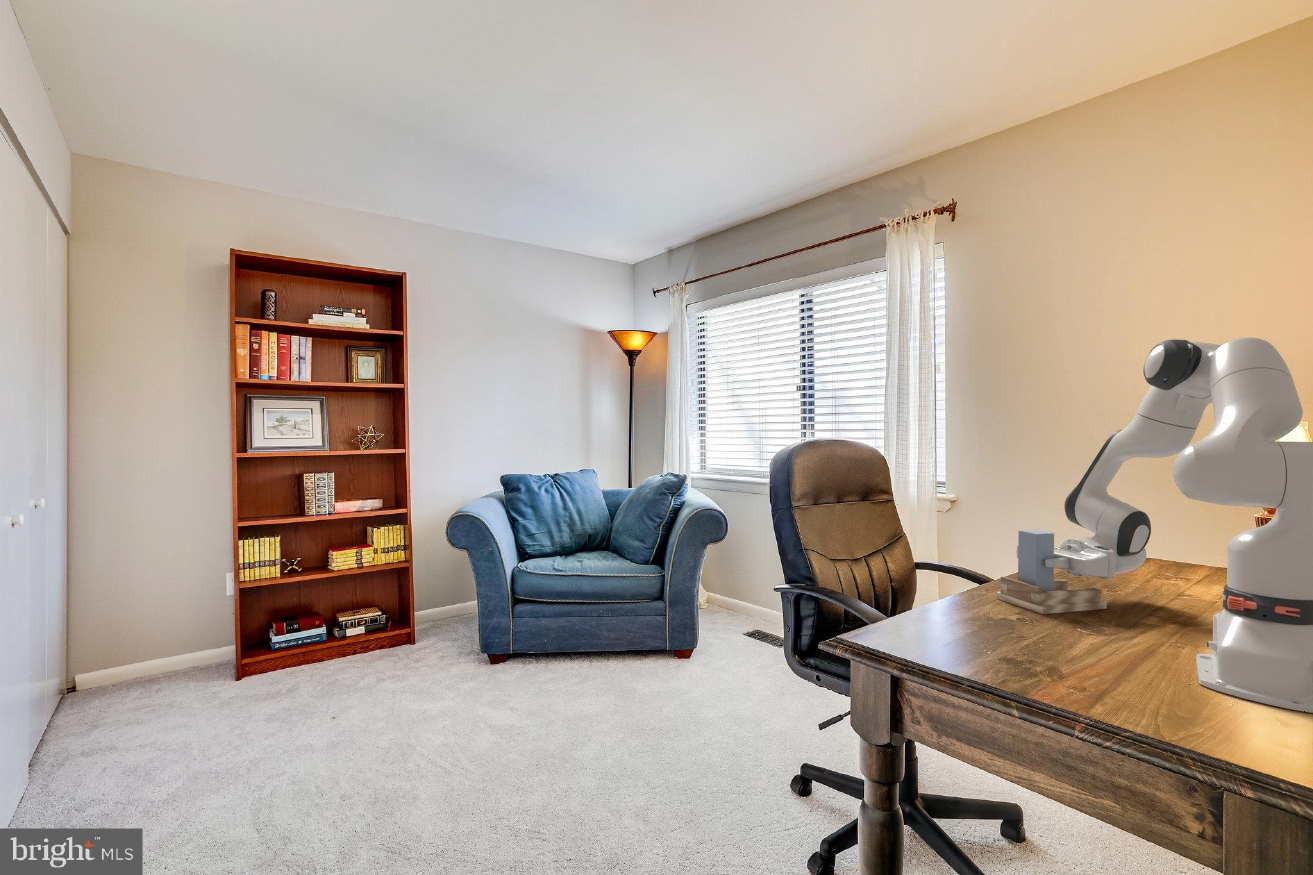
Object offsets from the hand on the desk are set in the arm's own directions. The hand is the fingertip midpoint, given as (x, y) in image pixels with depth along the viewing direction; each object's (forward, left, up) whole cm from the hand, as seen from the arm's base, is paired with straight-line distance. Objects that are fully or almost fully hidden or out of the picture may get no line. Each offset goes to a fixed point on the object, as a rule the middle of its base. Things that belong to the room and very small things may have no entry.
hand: (1032, 560), depth 144 cm
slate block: (+1, 0, -7) cm, 8 cm away
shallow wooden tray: (+5, -2, -10) cm, 12 cm away
